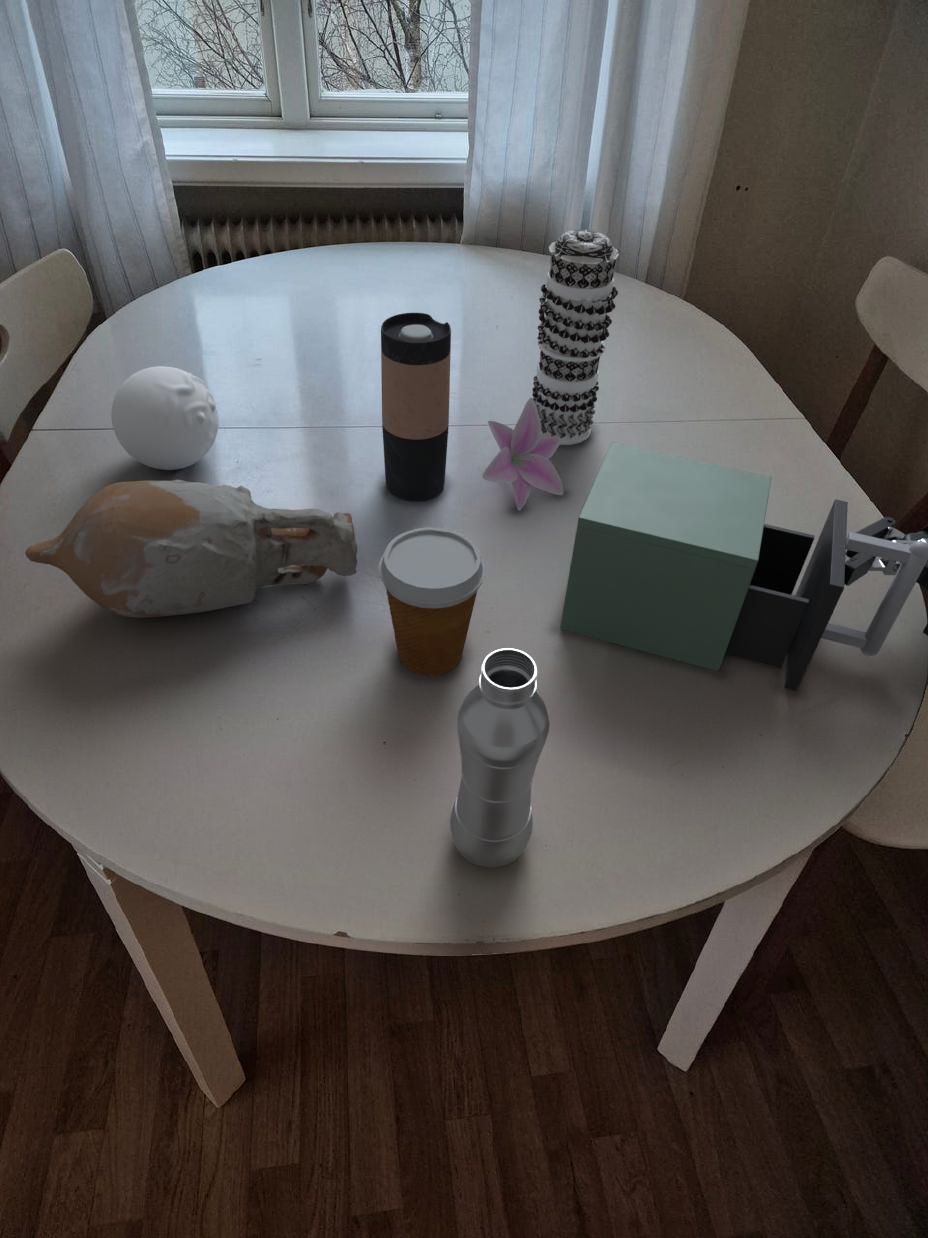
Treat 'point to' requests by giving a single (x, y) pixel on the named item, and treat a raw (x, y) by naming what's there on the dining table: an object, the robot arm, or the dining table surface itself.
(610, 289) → the black and white cylinder
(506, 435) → the lily
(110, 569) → the amphora
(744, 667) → the dining table surface
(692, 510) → the green drawer cabinet
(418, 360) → the travel mug
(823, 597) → the black drawer with handle
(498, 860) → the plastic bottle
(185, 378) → the decorative ball
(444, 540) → the disposable coffee cup
